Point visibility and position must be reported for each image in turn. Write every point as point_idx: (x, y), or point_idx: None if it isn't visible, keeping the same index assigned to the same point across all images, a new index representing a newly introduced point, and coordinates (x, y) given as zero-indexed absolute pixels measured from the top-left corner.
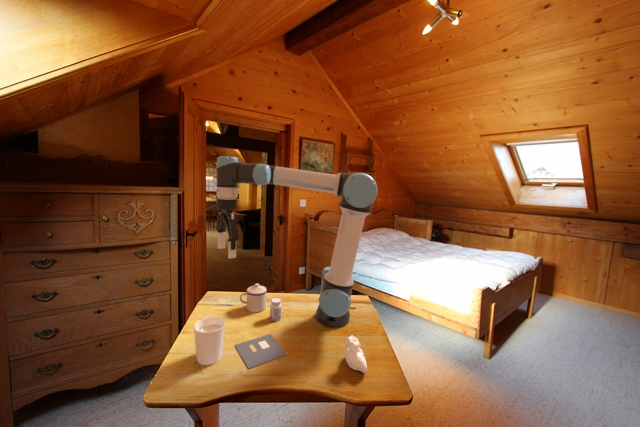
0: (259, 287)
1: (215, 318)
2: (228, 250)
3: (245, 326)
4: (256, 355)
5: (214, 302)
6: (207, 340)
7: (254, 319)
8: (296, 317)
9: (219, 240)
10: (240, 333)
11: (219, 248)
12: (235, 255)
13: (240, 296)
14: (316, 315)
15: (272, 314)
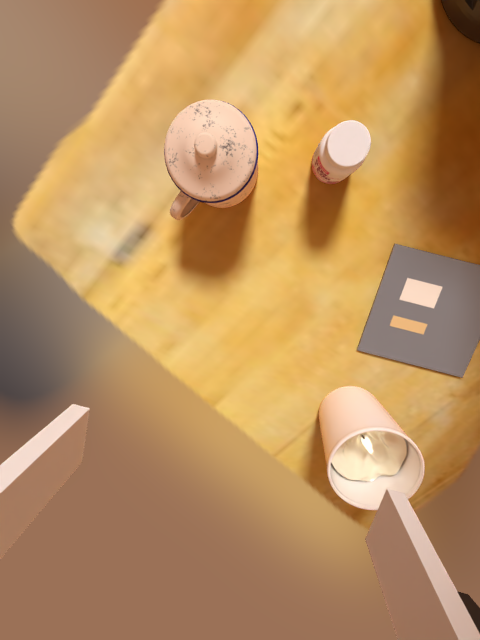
0: (225, 144)
1: (347, 435)
2: (397, 613)
3: (298, 273)
4: (440, 336)
5: (93, 263)
6: (400, 477)
7: (284, 225)
8: (387, 91)
9: (28, 515)
10: (319, 305)
11: (81, 454)
12: (411, 515)
13: (178, 218)
14: (476, 24)
15: (341, 179)
